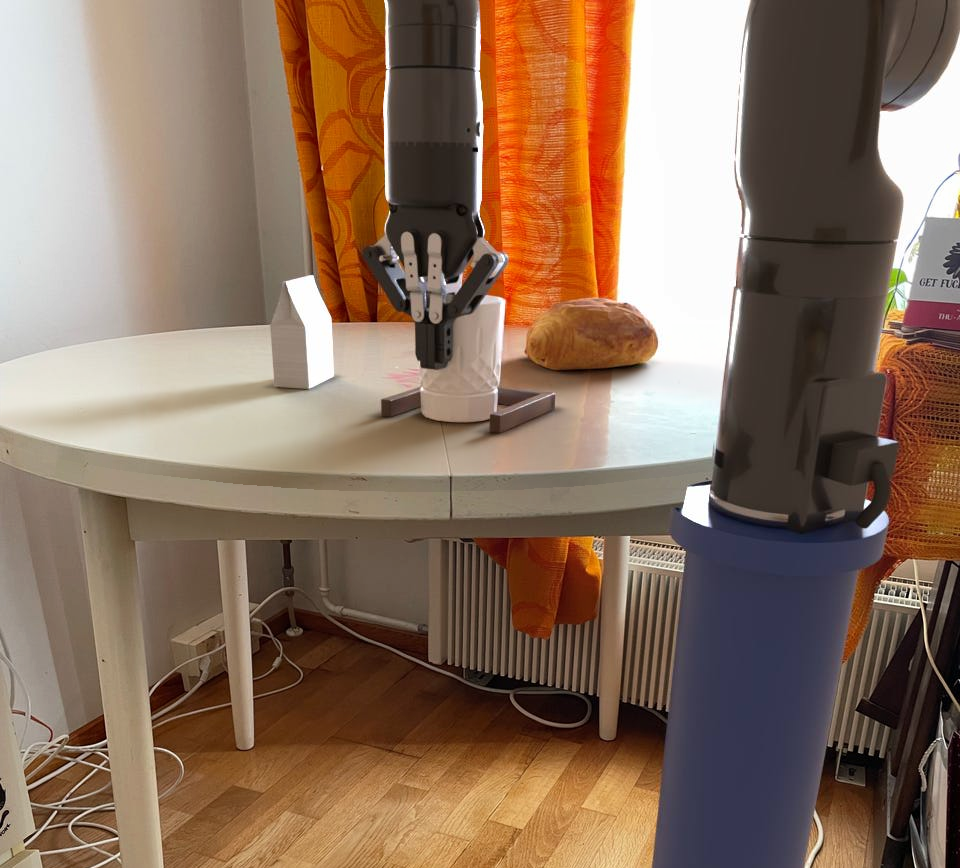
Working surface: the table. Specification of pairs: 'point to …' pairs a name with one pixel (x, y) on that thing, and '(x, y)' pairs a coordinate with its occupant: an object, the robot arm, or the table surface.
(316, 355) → the white milk carton
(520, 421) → the bay
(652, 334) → the bread loaf
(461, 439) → the table surface
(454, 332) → the white cup
